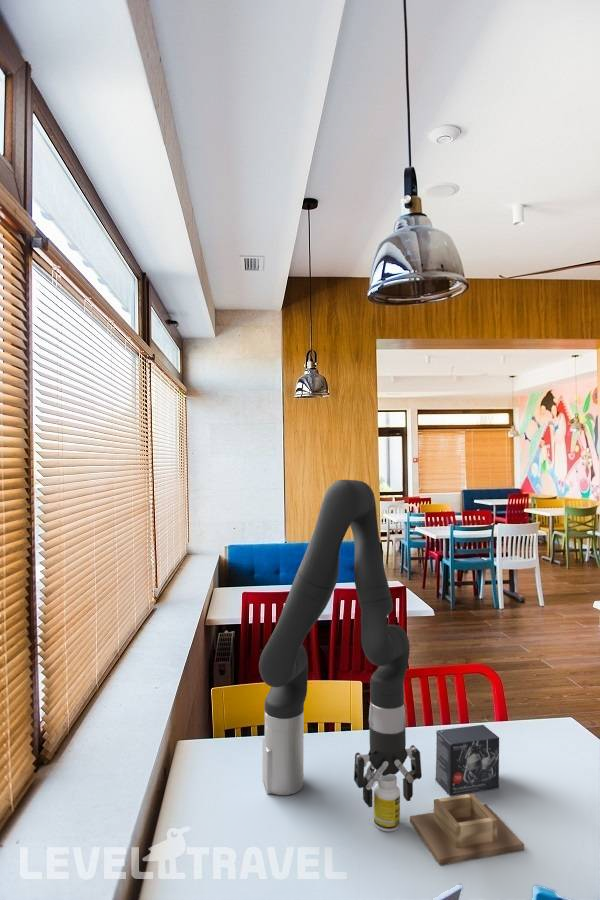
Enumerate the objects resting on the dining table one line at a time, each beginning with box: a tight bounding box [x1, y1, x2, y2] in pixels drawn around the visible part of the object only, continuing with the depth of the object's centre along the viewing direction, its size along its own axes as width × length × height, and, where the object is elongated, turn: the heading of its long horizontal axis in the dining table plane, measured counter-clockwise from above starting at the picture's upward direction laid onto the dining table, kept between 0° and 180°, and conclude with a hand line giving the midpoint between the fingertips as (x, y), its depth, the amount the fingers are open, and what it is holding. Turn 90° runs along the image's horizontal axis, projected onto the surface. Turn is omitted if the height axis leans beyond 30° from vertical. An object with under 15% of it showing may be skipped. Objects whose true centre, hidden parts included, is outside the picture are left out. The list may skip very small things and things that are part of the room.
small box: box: [434, 724, 500, 797], centre depth 130 cm, size 13×7×12 cm, turn 105°
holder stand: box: [409, 793, 525, 866], centre depth 112 cm, size 18×13×5 cm
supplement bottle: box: [373, 774, 401, 832], centre depth 116 cm, size 5×5×10 cm
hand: (388, 802), depth 116 cm, fingers open, 8 cm apart
